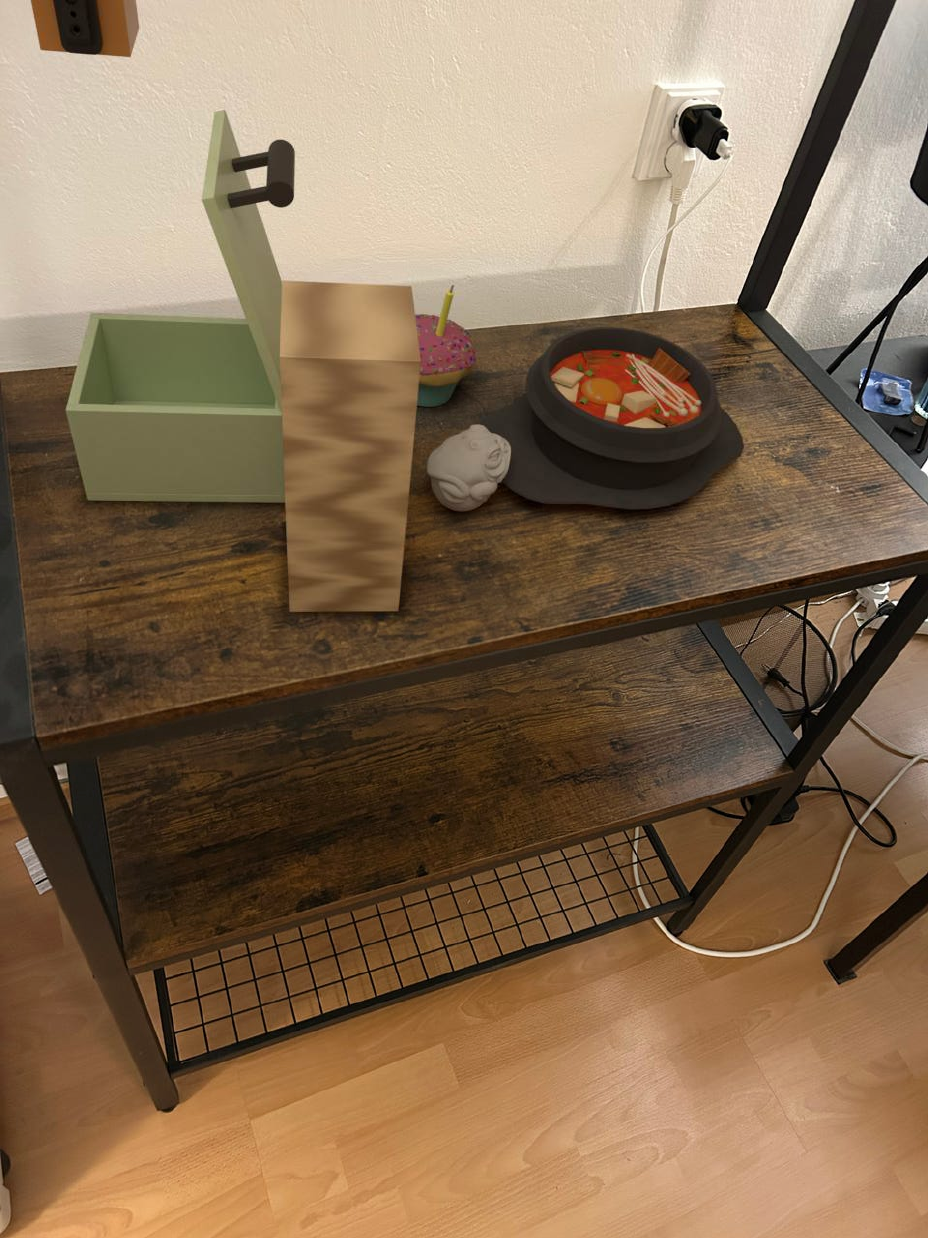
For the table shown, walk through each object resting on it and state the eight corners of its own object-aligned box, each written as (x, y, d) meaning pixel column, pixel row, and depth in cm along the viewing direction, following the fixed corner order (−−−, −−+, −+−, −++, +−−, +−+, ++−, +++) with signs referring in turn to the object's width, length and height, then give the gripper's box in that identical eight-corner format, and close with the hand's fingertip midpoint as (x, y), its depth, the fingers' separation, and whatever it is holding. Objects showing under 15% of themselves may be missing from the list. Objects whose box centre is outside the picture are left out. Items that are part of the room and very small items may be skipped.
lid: (201, 199, 59) (282, 182, 59) (214, 111, 67) (285, 96, 67) (280, 411, 72) (347, 398, 71) (283, 315, 80) (343, 304, 79)
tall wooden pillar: (289, 612, 71) (279, 356, 55) (290, 535, 76) (282, 279, 60) (398, 611, 72) (421, 360, 56) (392, 535, 77) (411, 285, 61)
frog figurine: (515, 517, 80) (528, 451, 75) (438, 536, 78) (446, 469, 73) (483, 471, 84) (494, 405, 79) (409, 487, 81) (415, 420, 76)
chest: (87, 500, 76) (65, 409, 70) (108, 401, 84) (90, 312, 78) (288, 503, 79) (285, 415, 72) (290, 406, 87) (288, 319, 80)
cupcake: (488, 396, 91) (506, 280, 82) (424, 433, 86) (437, 313, 77) (423, 354, 94) (434, 237, 85) (359, 387, 90) (363, 267, 81)
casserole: (667, 371, 97) (691, 296, 90) (778, 491, 86) (814, 415, 80) (439, 416, 88) (448, 336, 82) (533, 556, 78) (551, 476, 71)
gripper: (-29, -402, 48) (44, -13, 61) (-108, -373, 39) (-2, 78, 52) (127, -380, 50) (167, -2, 62) (86, -346, 40) (142, 89, 53)
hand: (89, 32), depth 57 cm, fingers closed on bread, 4 cm apart
